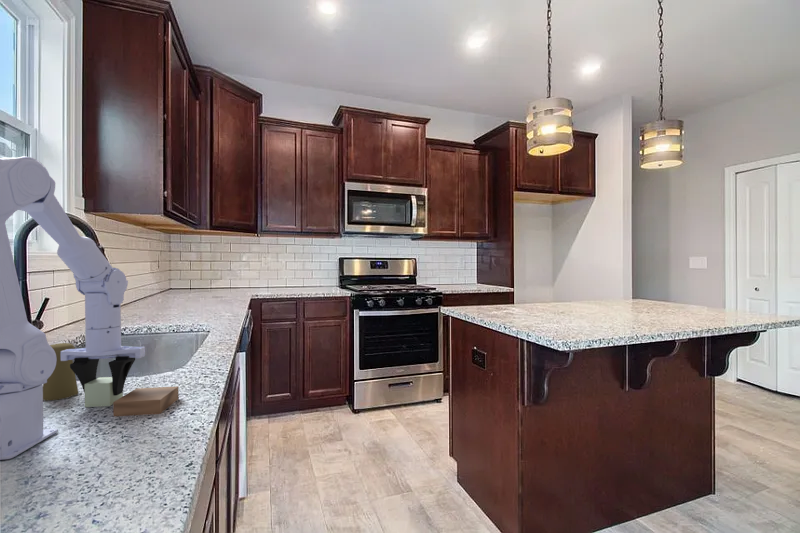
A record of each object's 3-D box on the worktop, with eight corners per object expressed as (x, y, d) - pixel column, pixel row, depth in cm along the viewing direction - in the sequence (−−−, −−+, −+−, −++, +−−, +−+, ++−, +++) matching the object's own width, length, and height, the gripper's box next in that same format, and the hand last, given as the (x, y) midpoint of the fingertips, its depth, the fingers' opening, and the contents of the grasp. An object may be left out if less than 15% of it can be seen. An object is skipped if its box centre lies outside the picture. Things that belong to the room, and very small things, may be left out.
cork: (44, 402, 79) (44, 348, 79) (37, 396, 83) (36, 344, 83) (82, 394, 84) (81, 343, 84) (74, 389, 88) (73, 340, 87)
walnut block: (160, 415, 73) (160, 399, 73) (113, 418, 72) (113, 402, 72) (178, 400, 81) (178, 386, 81) (136, 403, 80) (136, 388, 80)
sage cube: (110, 405, 77) (109, 383, 77) (84, 407, 76) (84, 384, 76) (122, 398, 82) (122, 376, 81) (99, 399, 81) (98, 377, 81)
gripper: (152, 323, 84) (152, 386, 84) (77, 324, 82) (78, 389, 82) (134, 328, 77) (135, 397, 77) (52, 330, 75) (53, 401, 75)
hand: (104, 394), depth 79 cm, fingers closed on sage cube, 4 cm apart
